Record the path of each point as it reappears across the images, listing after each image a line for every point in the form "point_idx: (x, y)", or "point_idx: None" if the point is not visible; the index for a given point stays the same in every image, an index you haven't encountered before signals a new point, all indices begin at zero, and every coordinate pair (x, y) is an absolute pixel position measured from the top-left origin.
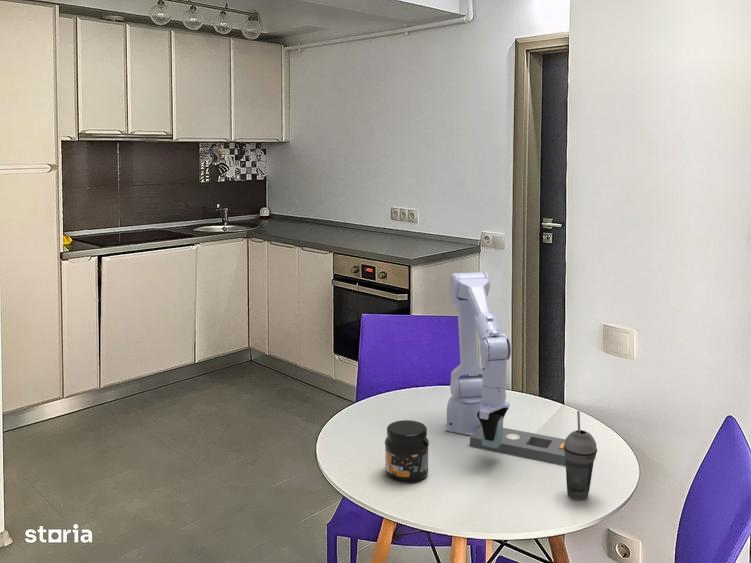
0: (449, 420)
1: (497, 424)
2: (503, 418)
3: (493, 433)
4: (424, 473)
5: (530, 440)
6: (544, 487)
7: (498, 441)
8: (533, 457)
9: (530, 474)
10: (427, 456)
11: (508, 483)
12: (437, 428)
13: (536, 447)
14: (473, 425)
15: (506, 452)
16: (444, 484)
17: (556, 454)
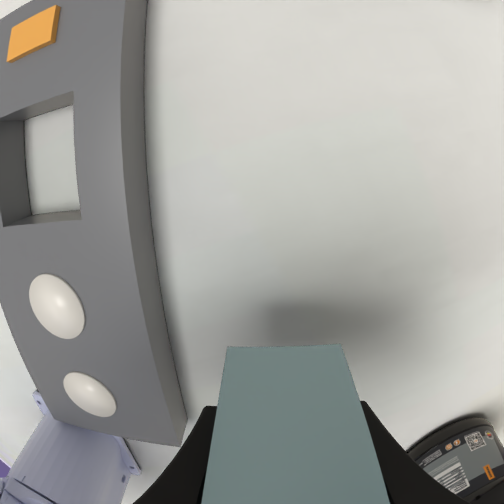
0: (122, 489)
1: (385, 501)
2: (153, 493)
3: (396, 443)
4: (477, 426)
5: (22, 222)
6: (423, 29)
7: (324, 373)
8: (141, 146)
9: (335, 103)
10: (479, 462)
11: (460, 185)
12: (142, 481)
13: (86, 147)
14: (90, 443)
15: (158, 291)
16: (490, 369)
17: (124, 15)
